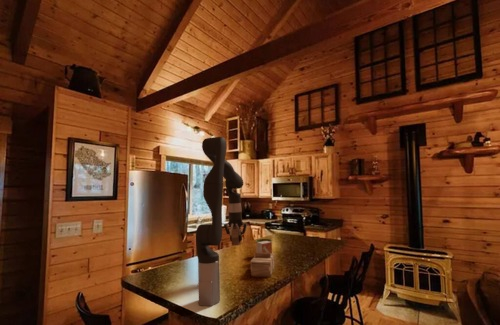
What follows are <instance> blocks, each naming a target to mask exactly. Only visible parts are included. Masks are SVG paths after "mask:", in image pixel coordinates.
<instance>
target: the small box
mask: <svg viewBox="0 0 500 325" xmlns="http://www.w3.org/2000/svg"><path fill="white" fill-rule="evenodd" d="M272 244H273V243H272V241H271V242H269V241H262V242H257V243H256V252H262V253H271V254H273V246H272Z"/></svg>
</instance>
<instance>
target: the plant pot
mask: <svg viewBox="0 0 500 325" xmlns="http://www.w3.org/2000/svg"><path fill="white" fill-rule="evenodd" d="M262 241H269V242H272V241H273V240H272V239H270V238H258V239H256V240H255V242H256V244H257V242H262Z"/></svg>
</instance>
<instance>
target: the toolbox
mask: <svg viewBox="0 0 500 325" xmlns="http://www.w3.org/2000/svg"><path fill="white" fill-rule="evenodd" d="M275 259H276V258H275V256H274V257H273V259H272V261H271V263H270V264H263V263H251V262H250V277H259V278H261V277H262V278H271V277H272V276H273V275H272V274H274V271H275V268H276V265H275V264H276V262H275V261H276V260H275Z"/></svg>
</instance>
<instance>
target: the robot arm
mask: <svg viewBox="0 0 500 325" xmlns="http://www.w3.org/2000/svg"><path fill="white" fill-rule="evenodd" d="M201 144H202V145H201V148H202V151H203V154H204V155H205V156H206V158H208V159H209V160H210V162H211V163H212V164H213V166H212V168H210V170H209V172H208V173H207V175H206V176H205V177H204V180H203V192H202V195H203V196H202V197H203V199H204V201H205V203H206V205H207V206H208V209H209V211H210V214H211V223H201V224H199V225H198V226H197V228H196V231H195V243H196V244H195V247H196V256H197V267H198V268H197V271H198V272H197V274H198V277H197V278H198V282H197V283H198V286H197V287H198V305H199V306H205V307H206V306H207V307H208V306H209V307H213V306H214V305H217V304H219V302H220V301H221V292H220V291H221V290H220V289H221V288H220V284H221V283H220V254H219V253H218V252H216V251H215V250H213V249H212V248H210V246H213V247H214V246H215V247H216V246H219V245H220V244H221V242H222V238H223V227H224V230H225V232H226V234H227V235H229V241H230V242H231V243H232V235H231V229H233V227H237V229H238V232H239V242H240V243H241V242H242V240H243V238H242V237H243V235H244V234H246V231H247V227H248V223H247V222H243V217H242V216H243V213H242V211H243V210H242V209H243V208H242V196H241V193H239V192H235V191H234V190H236V189H242V188H243V187H244V179H243V178H242V176H241V175H240V174H239V173H238V172H236V171H235V169H234V167H233V166H232V164H231V163H230V162H229V161H228V160H227V159H226V155H227V140H226V138H225V137H223V136H214V137H207V138H205V139H203V141H202V143H201ZM224 179H225V180H224ZM224 185H225V188H226V189H225V190H226V191H227V195H228V222H227V223H224V224H223V217H222V216H223V214H222V212H223V210H222V209H223V194H224ZM229 227H230V229H229ZM239 228H240V229H239Z"/></svg>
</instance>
